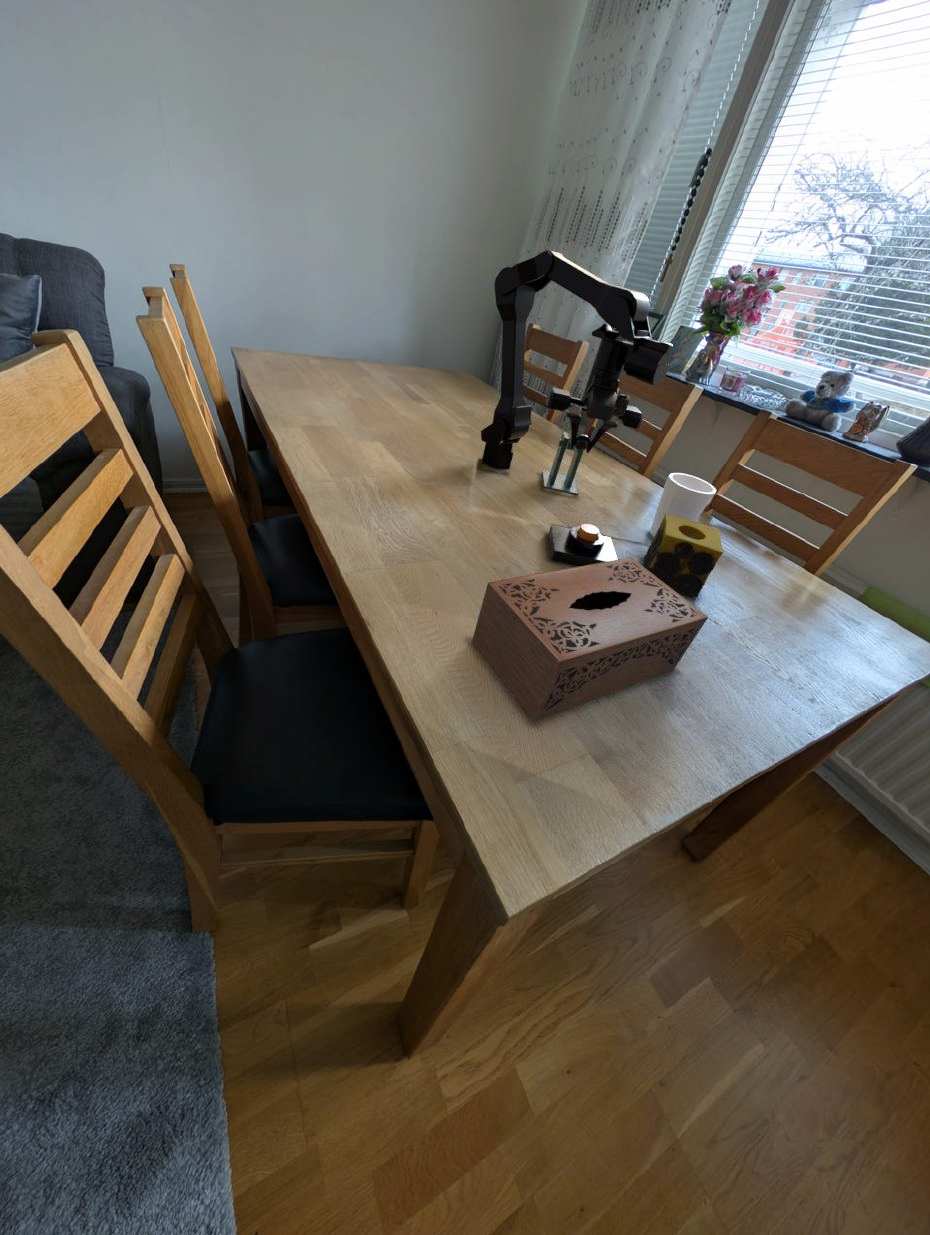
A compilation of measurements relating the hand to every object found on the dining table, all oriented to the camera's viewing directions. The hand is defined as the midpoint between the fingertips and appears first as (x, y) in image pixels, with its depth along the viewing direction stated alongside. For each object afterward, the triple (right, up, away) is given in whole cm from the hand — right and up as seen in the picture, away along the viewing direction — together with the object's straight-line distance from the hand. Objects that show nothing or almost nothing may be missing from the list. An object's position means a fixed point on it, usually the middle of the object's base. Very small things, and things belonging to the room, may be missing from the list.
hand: (579, 450), depth 100 cm
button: (-1, -20, -12) cm, 23 cm away
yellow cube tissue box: (+14, -28, -10) cm, 33 cm away
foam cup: (+19, -18, +3) cm, 26 cm away
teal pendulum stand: (-2, -3, +15) cm, 15 cm away
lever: (0, +1, +4) cm, 4 cm away
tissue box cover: (-9, -41, -33) cm, 53 cm away
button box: (-2, -23, -10) cm, 25 cm away
